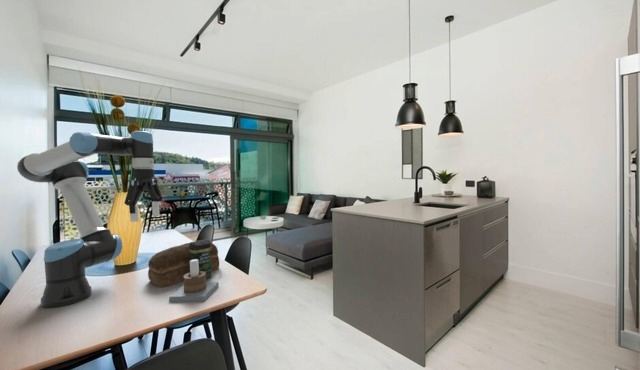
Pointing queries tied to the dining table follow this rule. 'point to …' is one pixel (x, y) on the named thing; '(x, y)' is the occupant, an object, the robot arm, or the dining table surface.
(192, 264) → the post block
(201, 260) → the coffee jar
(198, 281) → the ring
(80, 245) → the robot arm
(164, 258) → the bread
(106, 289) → the dining table surface
